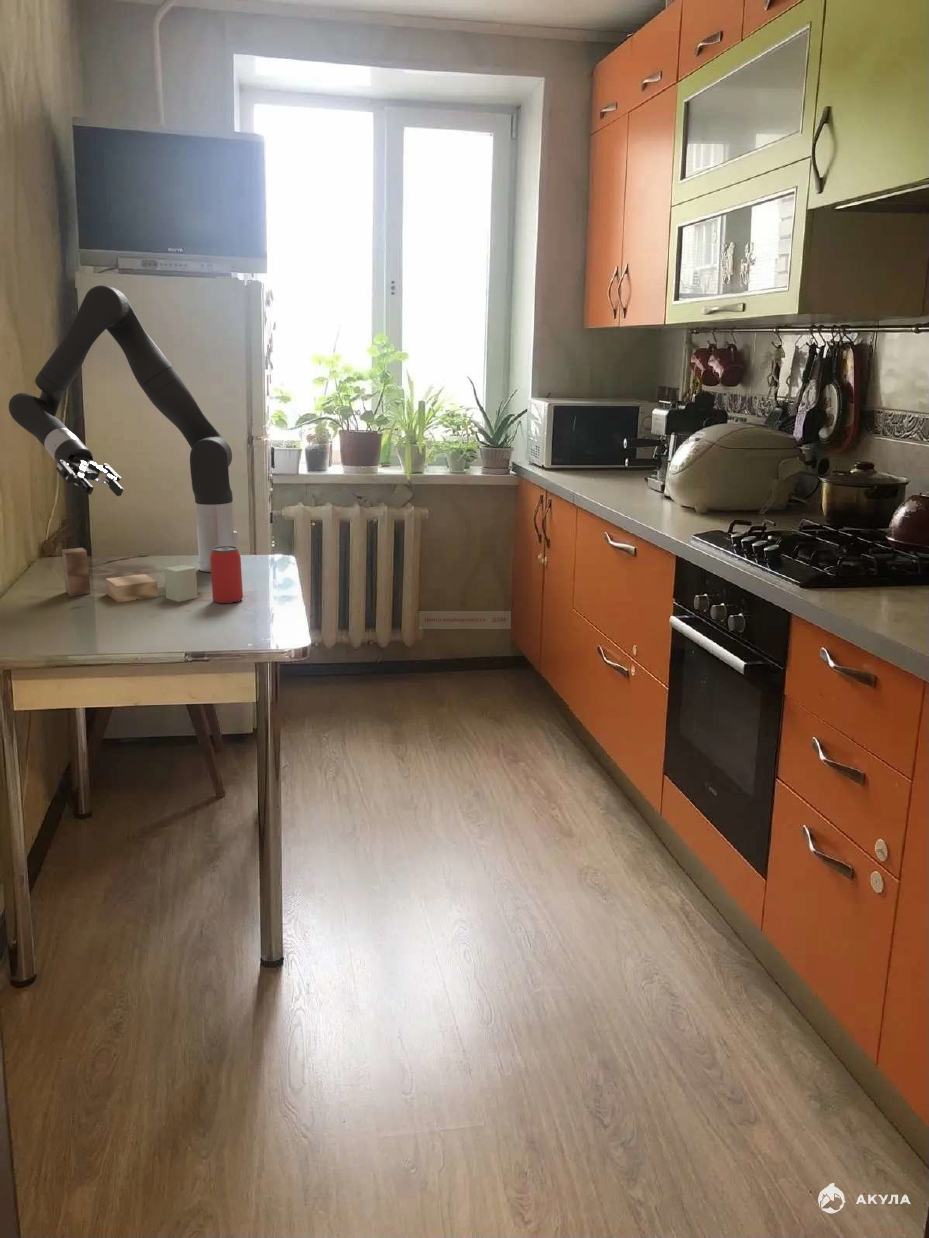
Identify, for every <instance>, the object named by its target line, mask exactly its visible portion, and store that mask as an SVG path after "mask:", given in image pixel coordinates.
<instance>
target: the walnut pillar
mask: <svg viewBox="0 0 929 1238" xmlns="http://www.w3.org/2000/svg"><path fill="white" fill-rule="evenodd" d="M87 553H88V551H87V550H86V549H85V548H83V547H77V548H66V549H61V555H62V565H63V566H62V567H63V574H64V575H63V576H64V585H65V586H64V587H65V592H66V594H67V595H69V597H72V596H75V597H76V596H81V595H82V596H83V594H84V595H90V594H89V593H91V585H90V583H91V582H90V574H89V573H90V572H89V563H88V554H87Z"/></svg>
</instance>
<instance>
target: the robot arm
mask: <svg viewBox="0 0 929 1238" xmlns="http://www.w3.org/2000/svg"><path fill="white" fill-rule="evenodd" d="M104 331H108V333H109V334H110V335H111V337H112V338H113V339H114V340H115V342H116V343H117V344H118V345H119V347H120V348H121V350H122V351H123V353H124V356H125V357H126V360H127V362H128V364H129V367H130V370H131V372H132V374H133V376H134V378H135V380H136V382H137V383H138V386H140V388H141V389H142V391H143V393H145V396H147V398H148V399H149V401H151V404H152V405H154V407H155V408H156V409H157V411H159V412H160V413H161V414H162V415H164V417H165V418H167V420H169V421H170V423H172V424H173V425H174V426H175V428H177V429H178V430H179V432H180V433H181V435H182V436H183V437H184V439H185V440H186V442H187V443H188V445H189V447H190V449H191V450H190V454H189V466H190V467H189V468H190V469H189V470H190V478H191V487H192V492H193V495H194V502H195V503H194V504H195V518H196V519H195V521H196V532H197V533H196V534H197V535H196V536H197V549H198V552H197V553H198V565H199V570H200V571H201V572H207V573H211V563H210V557H211V553H212V549H213V548H214V547H219V546H235V547H237V548H238V549H237V550H238V551H239V541H238V540H239V537H238V532H237V531H236V530H235V519H234V515H235V514H234V503H233V501H234V500H233V499H234V498H233V490H232V489H231V485H230V475H229V472H230V471H229V467H230V465H231V464H232V459H233V453H232V449H231V446H230V445H229V443H228V442H227V441H226V439H224V437H223V436H222V435H221V433H220V432H219V431H218V430H217V429H216V428H215V427H214V425H212V423H211V422H210V421H209V420H208V418H207V417H206V416H205V414H204V412H203V411H202V409H201V408H200V406H199V405H198V403H197V401H196V400H195V398H194V396H193V395H192V393H191V391H190V390H189V389H188V387H187V385H186V384H185V382H184V381H183V379H182V378H181V376H180V375H179V373H178V372H177V371H176V369H175V368H174V366H173V364H171V362H170V361H169V359H168V358H167V357H166V356H165V354H164V353H163V352H162V350H161V349H160V348H159V346H158V345H156V343H155V341H154V340H153V339H152V338H151V337H150V336H149V334H148V333H147V331H146V330H145V328H144V326H143V325H142V322H141V321H140V320H139V317H138V316H137V314H136V312H135V310H134V309H133V307H132V305H131V302H130V301H129V300H128V298H127V297H126V296H125V294H124V293H123V292H122V291H120V290H119V289H118V288H115V287H112V286H109V285H99V284H98V285H96V286H93V287H91V288H90V289H89V290H87V292H86V294H85V295H84V298H83V300H82V302H81V304H80V306H79V308H78V311H77V313H76V315H75V317H74V319H73V321H72V323H71V325H70V326H69V328H68V330H67V332H66V333H65V335H64V336H63V338H62V340H61V341H60V343H59V344H58V346H57V347H56V348H55V350H54V351H53V352H52V354H51V355H50V357H49V358H48V360H47V361H46V362H45V364H44V365H43V366H42V368H41V369H40V370H39V372H38V374H37V375H36V376H35V380H34V383H35V385H36V386H37V387H38V389H40V390H41V393H40V397H37V396H35V395H32V394H30V393H27V392H18V393H15V394H14V395H12V396H11V398H10V399H9V402H8V411H9V414H10V417H11V418H12V419H13V420H14V421H15V422H16V423H17V424H18V425H19V426H21V427H22V428H23V429H24V430H25V431H27V432H29V434H31V435H32V436H33V437H35V438H36V440H38V442H39V443H40V444H41V445H42V446H43V447H44V448H45V450H46V451H47V452H48V454H49V455H50V456H51V457H52V459H54V461H55V462H56V463H57V466H56V467H55V470H56V472H57V473H58V474H59V475H60V476H61V478H62V479H63V480H64V482H66V483H67V484H70V485H71V484H72V483H73V484H74V485H75V486H77V487H79V488H80V490H82V492H84V493H85V494H86V495H88V496H90V495H92V493H93V491H94V486H93V485H92V484H91V483H90V481H94V482H95V483H97V484H99V485H105V486H107V487H108V488H109V489H110V490H111V491H112V493H113V494H114V495H115V496H116V497H121V496H122V494H123V492H124V488H123V487H122V486H121V485H120V483H119V482H120V480H121V479H122V476H121V475H119V474H118V472H116V471H115V470H114V469H113V467H111V465H110V464H108V463H106V462H105V463H103V465H100V464H98V463H97V462H95V461H94V456H93V453H92V452H91V450H90V449H89V448H88V447H87V446H86V444H84V443H83V442H82V441H81V439H79V437H78V436H77V435H76V434H75V433H73V432H72V431H71V430H70V429H68V427H67V426H66V425H65V424H64V423H63V422H62V421H61V420H60V419H59V418H57V417H56V416H57V413H58V410H59V407H60V404H61V402H62V399H63V396H64V394H65V392H66V391H67V389H69V387H70V385H71V384H72V382H73V381H74V380H75V378H76V377H77V375H78V374H79V371H80V370H81V368H82V366H83V363H84V361H85V360H86V358H87V357H86V356H87V355H88V353H89V351H90V349H91V347H92V346H93V344H94V343H95V342H96V340H97V339H98V338H99V337H100V336H101V334H102V333H103V332H104ZM100 474H101V477H100V478H99V476H100ZM88 480H90V481H88Z"/></svg>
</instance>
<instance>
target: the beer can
mask: <svg viewBox="0 0 929 1238" xmlns="http://www.w3.org/2000/svg"><path fill="white" fill-rule="evenodd" d="M237 549H238V550H237ZM210 563H211V572H210V578H211V591H212V594H211V595H212V600H213V602H215V603H217V602H218V604H223V603H228V604H234V603H233V602H236V603H239V602H241V601H242V599H243V598H244V593H243V579H242V578H243V575H242V574H243V573H242V558H241V554H240V552H239V547H238V548H237V547H235V546H219V547H214V548H213V549H212V553H211V557H210ZM240 600H241V601H240Z"/></svg>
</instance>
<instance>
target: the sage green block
mask: <svg viewBox="0 0 929 1238" xmlns="http://www.w3.org/2000/svg"><path fill="white" fill-rule="evenodd" d="M163 571H164V572H163V575H164V585H165V586H164V587H165V597H166V599H169V600H172V601H175V602H178V603H179V602H182V601H183V602H184V601H188V600H192V599H193V600H195V599H198V585H197V584H198V583H197V568H196V567H194V566H190V565H187V564H179V565H174V566H167V567H164V568H163Z"/></svg>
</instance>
